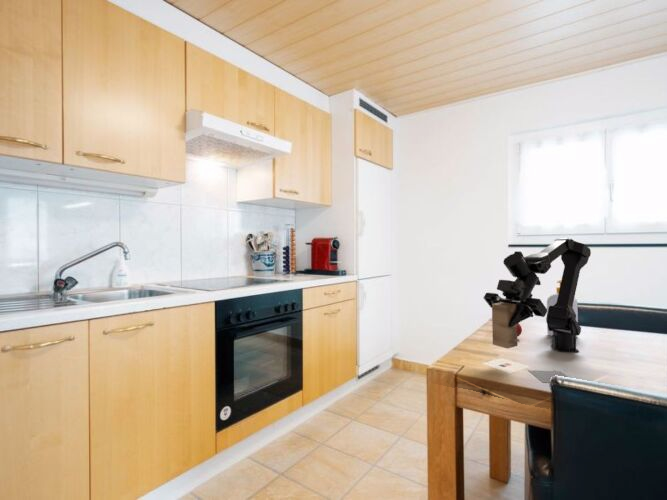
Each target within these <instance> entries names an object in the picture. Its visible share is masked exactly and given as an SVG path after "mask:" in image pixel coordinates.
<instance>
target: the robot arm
mask: <svg viewBox="0 0 667 500" xmlns="http://www.w3.org/2000/svg"><path fill="white" fill-rule="evenodd" d="M591 251H592V250H591V249H590V247H588V245H586V244H585V243H581V242H578V241H575V240H574V239H572V238H570V237H564V238H563V237H562V238H561V237H560V238H559V237H558V238H556V239H554V242H552V243H551V244H549V245H548V246H546V247H545V248H543V249H542V250H541V251H540V252H537V253H532V254H528V255H527V256H524V254H523V252H522V251H517V250H516V251H514V253H511V254H509V255H507V256H506V257H505V258H504V259H503V263H502V264H503V265H504V266H505V268H506V269H507V270H508V273H510V275H511V276H512V277H513V278H515V280H514V281H513V280H508V279H499V280H498V283H497V287H496V290H497V291H501V292H502V294H501V295H502V296H503V298H502V297H501V296H500V295H499V294H498V293H495V292H486V293H485V294H484V295H483V300H484V301H485V302H486V303H487V305H488V306H489V307H490V308H491V309H492V304H495V303H501V302H503V303H510V304H516V311H515V313H514V314H513V316H512V318H511V320H510V322H509V327H512V326H514V325H516V324H518V323H519V324H520V323H521V322H522V321H525V320H527V319H529V318H533V317H534V316H537V317H541V318H544V317H545V316H546V318H545V319H546V321H545V322H546V324H547V325H548V329H549V331H553V335H552V336H551V344H550V347H551V348H553V349H555V350H557V351H558V352H573V353H574V352H576V353H577V352H580V351H579V349H578V348H577V337H576V335H578V336H580V335H581V332H582V326H580V324H579V321H578V322H577V321H576V314H575V312H574V310H573V301H574V297H575V298H576V291H577V288H578V287H577V286H578V281H579V278H580V272H581V270H582V269H583V268H584V267H585V266H586V265H587V264H588V261H589V258H590V257H591V254H592V252H591ZM559 257H560V260H561V261H562V264H563V265H564V267H563V272H562V276H561V279H560V280H561V285H560V284H559V287H560V289H559V294H558V298H557V302H556V304H555V305H554V306H549V309H548V314H547V306H545V305H544V303H543V302H542V300H541V299H540V298H535V297H533V294H532V291H533V289H534V288H535V286H541V284H542V283H541V281H540V277H539V276H538V275H537V274H539V275H541V274H542V275H545V274H546V273H547V272H548V271H549V270H550V269H551V268H552V263H553V262H554V261H555V260H557V258H559ZM504 297H505V298H504Z"/></svg>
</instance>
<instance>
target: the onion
mask: <svg viewBox="0 0 667 500" xmlns="http://www.w3.org/2000/svg"><path fill="white" fill-rule="evenodd" d="M522 333H523V328H522V326H521V324H520V322H519V323H518V324H517V338H518V337H519V336H521V335H522Z"/></svg>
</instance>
